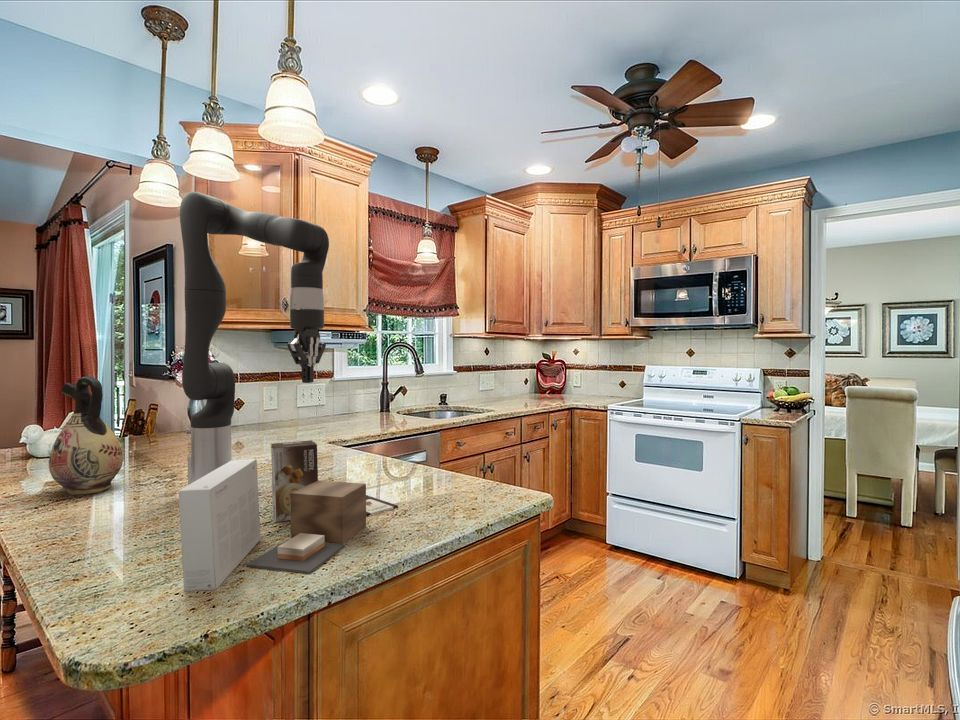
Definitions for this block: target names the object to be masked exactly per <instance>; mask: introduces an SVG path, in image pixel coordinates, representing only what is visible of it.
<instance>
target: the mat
mask: <svg viewBox="0 0 960 720" xmlns="http://www.w3.org/2000/svg"><path fill="white" fill-rule="evenodd" d="M290 539H291V538H288V539H286V540H284V541H283V542H281V543H279V544H278V545H276V546H274V547H273V548H270V549H269V550H267V551H266V552H264V553H263V554H261V555H259V556H257V557H256V558H255V559H253V560H250V561H249V562H248V563H247V564H246V565H245V566H246V567H247V568H257V569H265V570H275V571H282V572H283V571H284V572H290V573H292V572H293V573H301V574H308V575H309V574H312V573H313V572H314V571H315V570H317V569H318V568H319V567H320V566H322V565H324V563H326V562H327V561H329V560H330V559H331V558H332V557H334V556H335V555H336V554H337V553H339V552H340V551H341V550H343V549H344V548H345V547H346V545H345V543H344V544H334V543H325V546H324V547H322V548H321V549H320V550H318V551H317V552H315V553H314V554H312V555H311V556H310V557H308V558H307V559H305V560H304V561H299V560H290V559H281V558H278V546H280V545H282V544H283V543H285V542H287V541H288V540H290Z"/></svg>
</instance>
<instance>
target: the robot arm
mask: <svg viewBox="0 0 960 720" xmlns="http://www.w3.org/2000/svg"><path fill="white" fill-rule="evenodd" d="M179 206H180V207H179V224H180V231H181V239H182V248H183V249H182V250H183V263H184V313H185V317H184V318H185V322H184V323H185V331H184V333H185V334H184V340H185V341H184V348H183V349H184V350H183V361H182V362H183V363H182V371H181V379H182V380H181V382H182V384H181V385H182V389H183V392H184V394H185V395H186V397H187V398H188V399H190V400H192V401H205V400H206V403H205V405H204V406H203V407H202V409H200V410H199V411H197V412H196V413H194V414H192V415H191V417H190V456H188V457H187V486H188V485H189V484H191V483H193V482H195V481H196V480H198V479H200V478H202V477H203V476H205V475H207V474H208V473H210V472H212V471H214V470H215V469H217V468H219V467H221V466H222V465H224V464H226V463H228V462H229V461H231V460H233V459H232V457H233V456H232V455H233V454H232V452H233V451H232V448H233V447H232V418H233V415H234V412H235V402H236V401H235V398H236V378H235V376H236V375H235V374H234V373H235V372H234V371H233V370H234V369H232V367H231V366H230V365H229V364H228V363H225V362H209V358H210V356H209V355H210V346H211V341H212V340H213V337H214V336H215V333H216V331H217V330H218V329H219V326H220V325H221V323H222V321H223V320H224V317H225V314H226V310H227V290H226V289H227V288H226V284H225V280H224V278H223V276H222V274H221V272H220V270H219V268H218V266H217V264H216V262H215V261H214V258H213V256H212V254H211V250H210V246H209V239H208V238H209V237H208V234H209V235H227V236H228V235H231V236H232V235H234V236H242V237H246V238H249V239H251V240H255V241H256V242H261V243H264V244H268V245H273V246H276V247H283V248H286V249H289V250H293V251H296V252H300V253H303V254H302V255H303V256H302V260H301V262H300V261H299V262H296V263H294V264H293V265H292V266H291V270H290V296H289V297H290V298H289V318H290V319H289V320H290V321H289V327H290V328H291V329H293V330H294V333H293V340H292V341H291V342H287V349H288V350H289V352H290V355H291V357H292V359H293V361H294V364H295V365H299V366H300V367H301V382H302V383H303V384H312V383H314V380H315V378H314V376H315V375H314V373H315V372H314V369H315V366H316V365H317V364H320V362H321V359H322V356H323V355H324V351H325V349H326V348H327V347H326V343H325V342H322V341H321V334H320V330H323V329H324V328H325V298H324V289H323V288H324V285H323V284H324V281H323V280H324V279H323V277H324V275H323V272H324V269H325V265H326V260H327V256H328V253H329V247H330V239H329V235H328V233H327V231H326V230H325V228H324V227H322V226H320V225H318V224H315V223H313V222H308V221H307V220H303V219H298V218H294V217H286V216H285V217H284V216H282V215H277V214H272V213H268V212H262V211H247V210H243V209H241V208H239V207H236V206H234V205H233V204H230V203H228V202H226V201H224V200H222V199H220V198H217V197H215V196H211V195H208V194H205V193H202V192H198V191H188V192H187V193H186V194H184V196H183V197H182V199H181V202H180V205H179Z"/></svg>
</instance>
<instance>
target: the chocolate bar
mask: <svg viewBox="0 0 960 720" xmlns="http://www.w3.org/2000/svg"><path fill="white" fill-rule="evenodd" d="M395 508H396V509H398V508H399V505H397V504H394V503H391V502H389V501H385V500H382V499H379V498H376V497H373V496H370V495H367V494H366V516H367V517H369V515H371V516H373V514H374V515H377V513H378V514H381V513H385V512H388V511H392V510H394V509H395ZM391 509H392V510H391ZM384 511H385V512H384ZM380 512H381V513H380Z"/></svg>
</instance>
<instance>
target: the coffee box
mask: <svg viewBox="0 0 960 720" xmlns="http://www.w3.org/2000/svg"><path fill="white" fill-rule="evenodd" d="M270 445H271V446H270V447H271V450H270V451H271V452H270V453H271V491H272V492H271V493H272V494H271V495H272V496H271V499H272V501H271V502H272V516H273V519H274V521H275V523H280V522H281V523H282V522H287V521H291V493H292V492H295V491H297V490H299V489H301V488H303V487H305V486H307V485H310V484H312V483H314V482H316V481H319V468H318V465H319V464H318V463H319V462H318V460H319V459H318V444H317V442H315V441H313V440H301V441H300V440H299V441H287V442H286V441H285V442H276V443H275V442H274V443H271V444H270Z"/></svg>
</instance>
